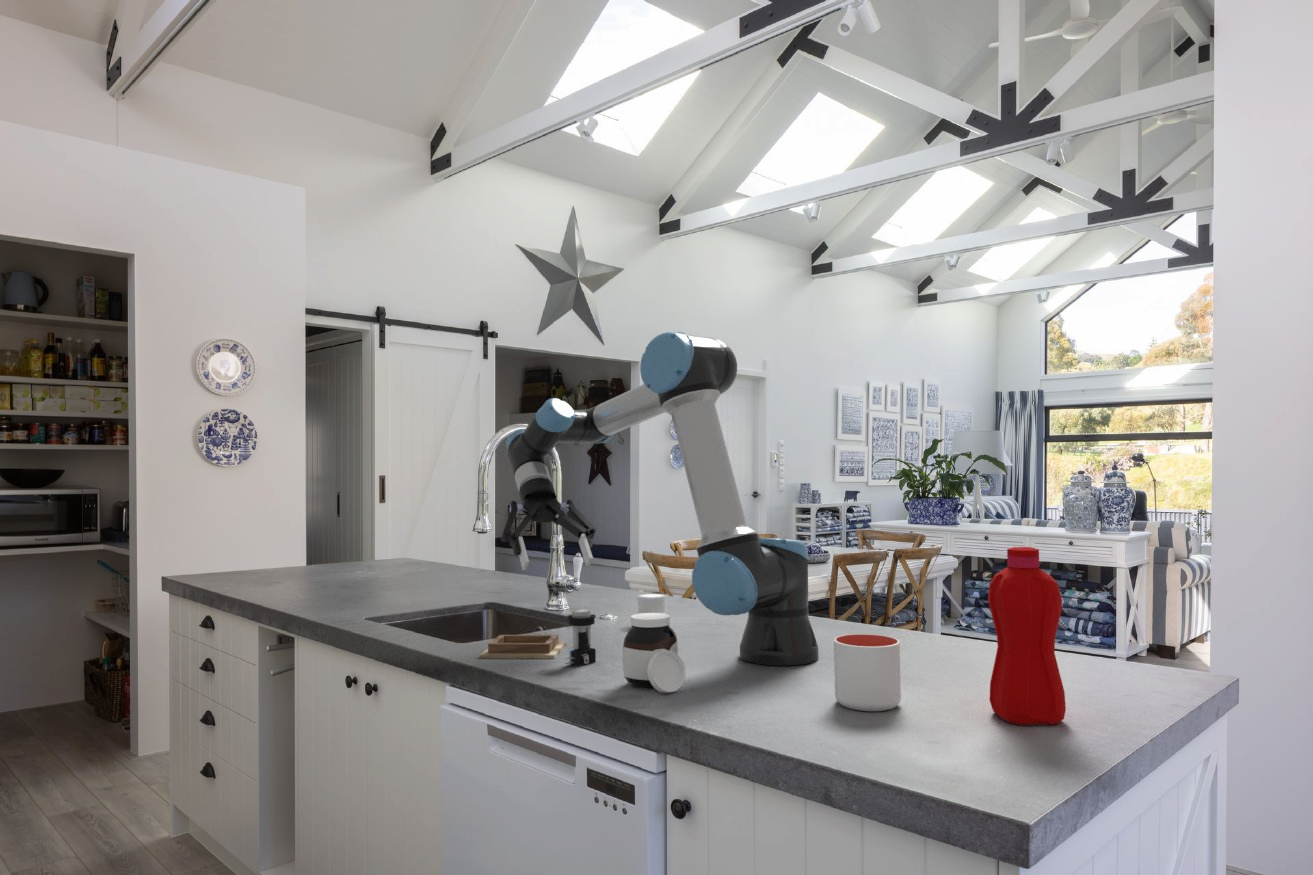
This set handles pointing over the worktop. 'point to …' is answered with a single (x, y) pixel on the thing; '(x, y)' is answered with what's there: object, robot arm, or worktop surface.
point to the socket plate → (524, 646)
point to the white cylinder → (651, 603)
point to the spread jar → (652, 654)
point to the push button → (581, 637)
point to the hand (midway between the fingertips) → (558, 564)
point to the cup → (867, 672)
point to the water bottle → (1026, 642)
